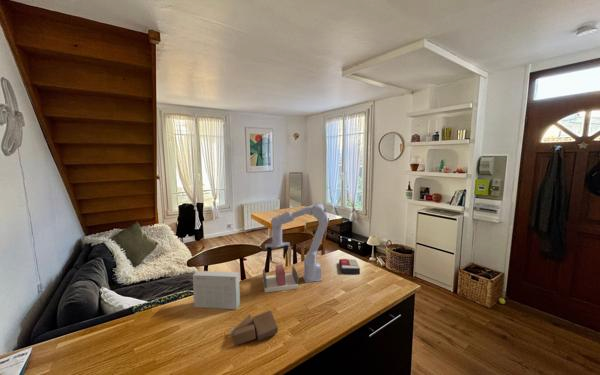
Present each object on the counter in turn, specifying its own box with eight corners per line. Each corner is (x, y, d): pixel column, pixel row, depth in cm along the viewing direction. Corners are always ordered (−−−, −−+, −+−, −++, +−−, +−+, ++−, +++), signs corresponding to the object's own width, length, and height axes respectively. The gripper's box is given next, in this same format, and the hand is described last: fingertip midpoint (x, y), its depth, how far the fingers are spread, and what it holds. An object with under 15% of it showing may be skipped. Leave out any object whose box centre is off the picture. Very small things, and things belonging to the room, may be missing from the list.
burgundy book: (282, 276, 142) (282, 264, 141) (285, 285, 133) (285, 272, 132) (275, 277, 141) (275, 265, 140) (277, 286, 132) (277, 273, 131)
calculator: (355, 258, 163) (360, 267, 148) (355, 265, 164) (359, 274, 149) (339, 258, 164) (341, 267, 149) (339, 264, 164) (341, 274, 149)
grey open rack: (293, 276, 146) (293, 265, 146) (298, 288, 133) (298, 277, 132) (262, 279, 143) (262, 268, 142) (264, 292, 129) (264, 280, 128)
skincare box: (240, 303, 120) (239, 272, 118) (236, 310, 115) (235, 277, 113) (199, 300, 122) (197, 270, 120) (193, 307, 117) (191, 275, 115)
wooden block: (232, 333, 104) (274, 319, 109) (232, 353, 91) (279, 337, 96) (229, 316, 104) (271, 303, 108) (228, 333, 91) (276, 318, 95)
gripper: (265, 239, 139) (265, 262, 141) (290, 237, 142) (290, 260, 144) (264, 235, 146) (264, 257, 148) (288, 234, 149) (288, 255, 151)
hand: (277, 258), depth 146 cm, fingers open, 7 cm apart
